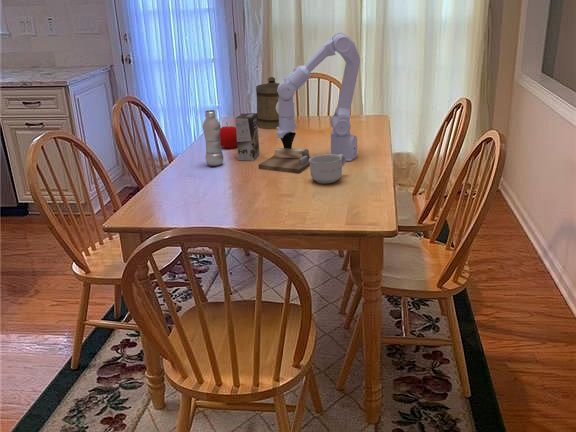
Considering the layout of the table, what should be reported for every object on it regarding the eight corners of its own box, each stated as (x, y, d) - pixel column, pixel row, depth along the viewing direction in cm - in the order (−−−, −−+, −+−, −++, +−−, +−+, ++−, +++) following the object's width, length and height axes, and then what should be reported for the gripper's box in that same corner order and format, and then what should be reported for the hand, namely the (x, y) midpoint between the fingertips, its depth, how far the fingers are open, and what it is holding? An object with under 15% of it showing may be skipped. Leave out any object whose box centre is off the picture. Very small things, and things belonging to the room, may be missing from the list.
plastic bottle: (227, 163, 211) (222, 109, 203) (217, 168, 205) (212, 113, 198) (212, 161, 214) (207, 108, 206) (202, 166, 208) (197, 112, 200)
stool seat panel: (316, 161, 209) (316, 151, 207) (299, 173, 197) (298, 162, 195) (277, 157, 216) (277, 147, 214) (258, 168, 203) (258, 158, 202)
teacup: (320, 188, 182) (319, 164, 179) (303, 179, 191) (303, 156, 188) (356, 180, 188) (356, 157, 185) (338, 172, 197) (338, 149, 194)
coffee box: (254, 160, 212) (251, 118, 206) (237, 160, 214) (234, 118, 208) (260, 154, 221) (257, 112, 214) (244, 153, 222) (241, 112, 216)
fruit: (242, 143, 235) (240, 120, 232) (238, 150, 227) (236, 125, 223) (220, 144, 236) (218, 120, 233) (216, 150, 228) (213, 125, 224)
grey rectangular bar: (309, 156, 208) (309, 149, 207) (307, 158, 206) (307, 151, 205) (277, 155, 212) (277, 147, 211) (274, 157, 209) (274, 150, 208)
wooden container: (286, 129, 256) (284, 79, 247) (254, 129, 258) (251, 80, 250) (292, 121, 269) (290, 74, 261) (261, 121, 272) (258, 74, 263)
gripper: (283, 111, 213) (284, 146, 218) (268, 119, 201) (270, 156, 206) (301, 112, 211) (302, 147, 216) (287, 120, 198) (288, 158, 203)
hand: (287, 152), depth 211 cm, fingers closed, pressing on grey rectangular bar
